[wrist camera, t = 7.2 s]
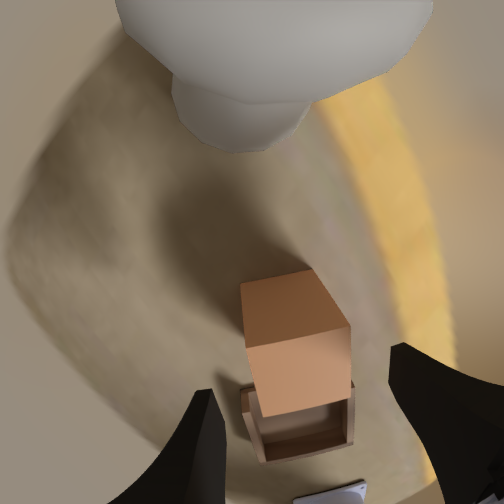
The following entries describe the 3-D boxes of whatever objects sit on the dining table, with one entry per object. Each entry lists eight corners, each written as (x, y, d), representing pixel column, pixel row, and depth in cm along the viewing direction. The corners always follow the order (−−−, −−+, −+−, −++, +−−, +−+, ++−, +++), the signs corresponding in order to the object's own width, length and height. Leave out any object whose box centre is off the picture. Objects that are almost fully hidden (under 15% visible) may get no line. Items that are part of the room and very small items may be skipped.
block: (318, 330, 18) (350, 397, 13) (253, 343, 18) (262, 417, 13) (312, 269, 17) (350, 325, 11) (239, 283, 17) (245, 348, 11)
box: (345, 424, 21) (353, 444, 19) (258, 444, 21) (260, 466, 19) (344, 366, 19) (355, 387, 17) (240, 389, 19) (241, 413, 17)
